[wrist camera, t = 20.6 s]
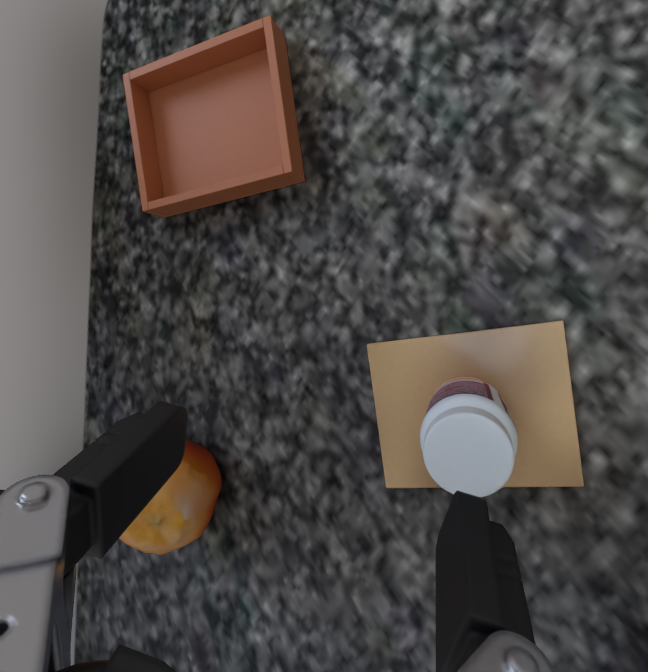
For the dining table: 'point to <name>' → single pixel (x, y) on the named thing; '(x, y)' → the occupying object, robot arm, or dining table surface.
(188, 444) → the fruit
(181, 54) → the tray
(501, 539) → the robot arm
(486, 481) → the pill bottle
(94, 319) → the dining table surface
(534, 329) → the mat
